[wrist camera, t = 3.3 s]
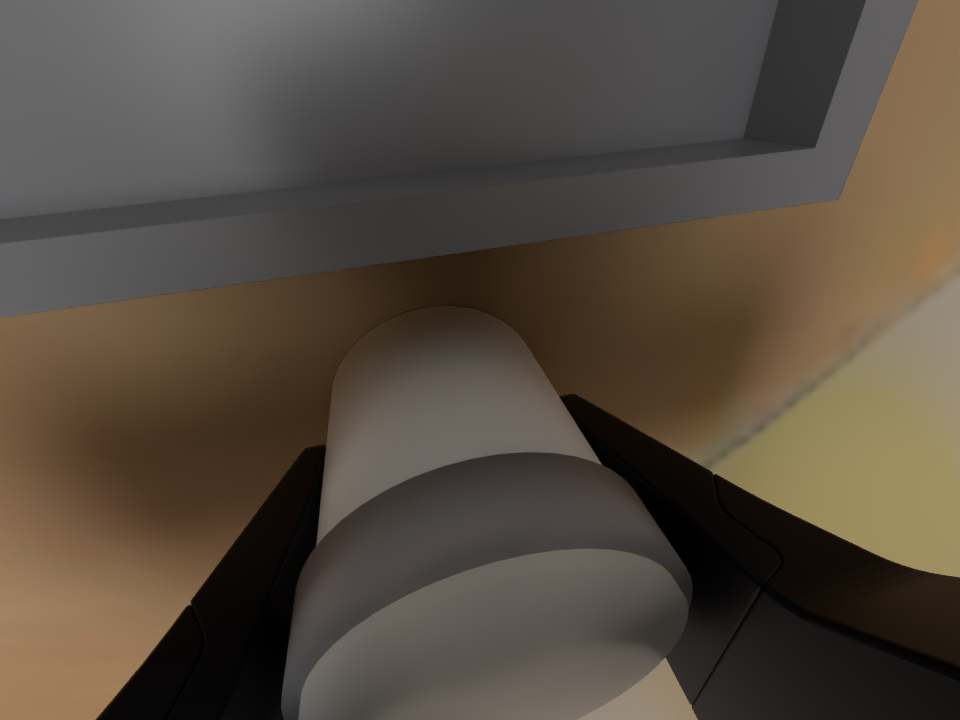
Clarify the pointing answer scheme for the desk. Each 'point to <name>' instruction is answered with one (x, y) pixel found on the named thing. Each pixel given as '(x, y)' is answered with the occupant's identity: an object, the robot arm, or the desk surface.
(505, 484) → the grey lidded container
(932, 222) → the desk surface
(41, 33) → the tray
